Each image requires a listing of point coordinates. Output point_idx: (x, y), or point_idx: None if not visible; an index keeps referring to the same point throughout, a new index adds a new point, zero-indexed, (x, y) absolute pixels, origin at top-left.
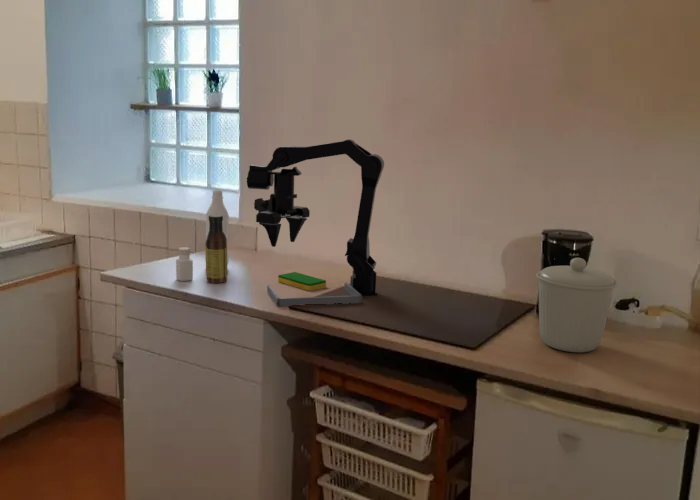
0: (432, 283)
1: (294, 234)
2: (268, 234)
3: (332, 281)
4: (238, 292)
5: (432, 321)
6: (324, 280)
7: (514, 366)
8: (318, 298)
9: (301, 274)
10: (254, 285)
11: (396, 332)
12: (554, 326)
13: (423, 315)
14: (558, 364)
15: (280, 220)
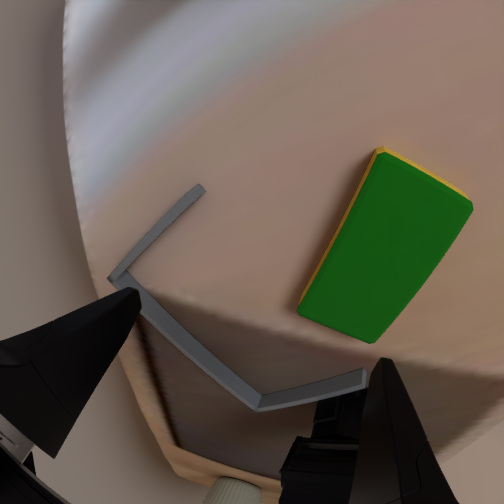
0: (457, 448)
1: (365, 434)
2: (47, 328)
3: (449, 326)
4: (136, 104)
5: (233, 445)
6: (367, 341)
7: (167, 451)
8: (182, 350)
9: (433, 249)
10: (250, 89)
11: (164, 414)
12: (209, 491)
13: (251, 444)
14: (193, 467)
15: (33, 470)
